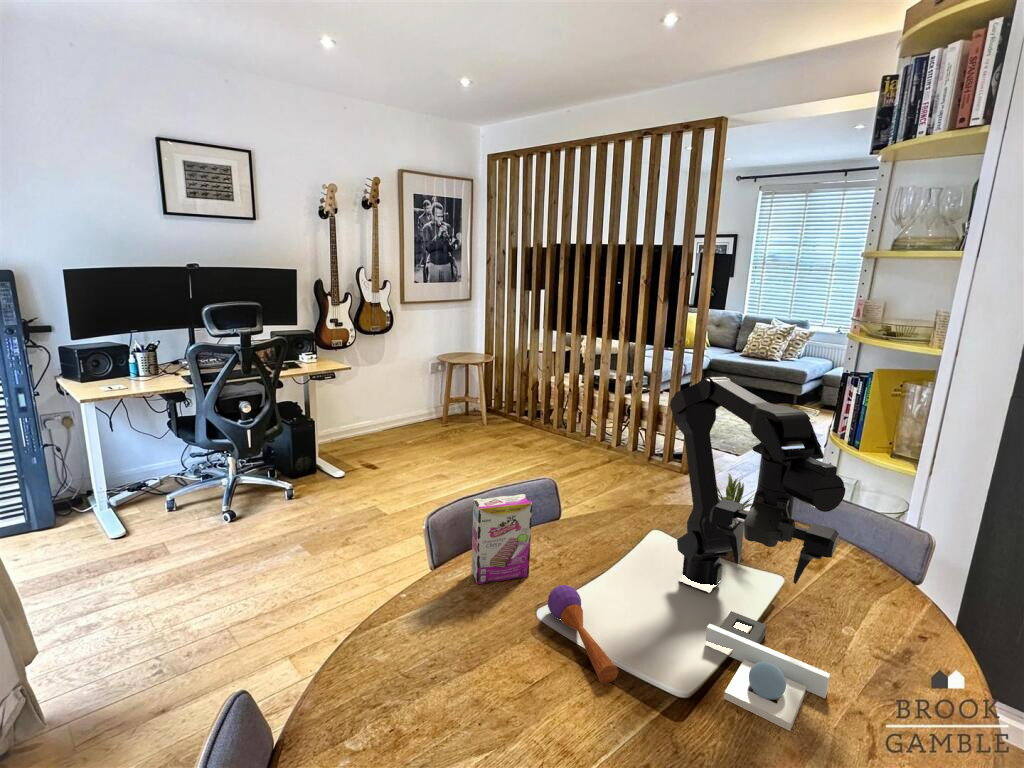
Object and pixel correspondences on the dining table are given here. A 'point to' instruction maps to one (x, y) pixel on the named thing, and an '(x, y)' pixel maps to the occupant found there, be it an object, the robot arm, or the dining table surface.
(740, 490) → the house plant
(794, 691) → the white rectangular frame
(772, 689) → the ball
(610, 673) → the kendama
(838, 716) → the dining table surface
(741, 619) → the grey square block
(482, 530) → the candy bar box
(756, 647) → the divider wall
